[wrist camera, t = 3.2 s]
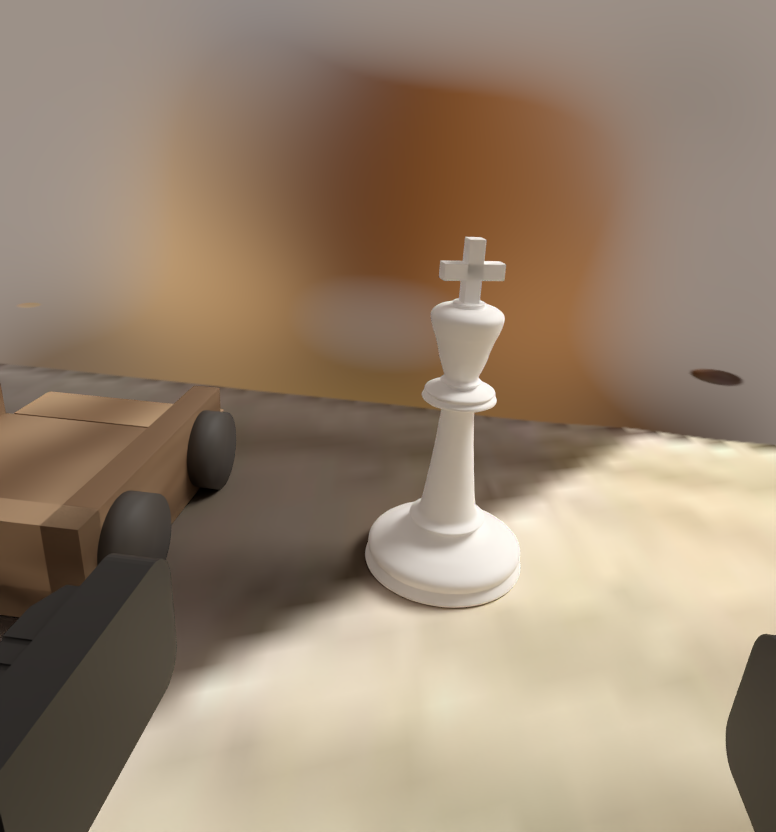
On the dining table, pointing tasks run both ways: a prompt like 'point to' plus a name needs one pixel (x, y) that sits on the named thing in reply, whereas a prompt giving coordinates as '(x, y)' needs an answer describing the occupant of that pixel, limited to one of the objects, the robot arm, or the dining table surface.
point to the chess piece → (452, 466)
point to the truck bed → (99, 483)
